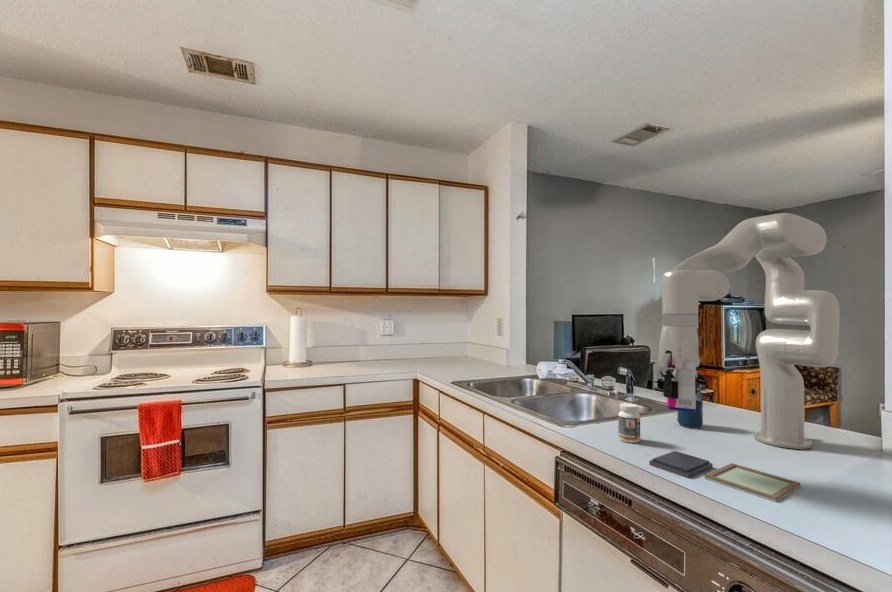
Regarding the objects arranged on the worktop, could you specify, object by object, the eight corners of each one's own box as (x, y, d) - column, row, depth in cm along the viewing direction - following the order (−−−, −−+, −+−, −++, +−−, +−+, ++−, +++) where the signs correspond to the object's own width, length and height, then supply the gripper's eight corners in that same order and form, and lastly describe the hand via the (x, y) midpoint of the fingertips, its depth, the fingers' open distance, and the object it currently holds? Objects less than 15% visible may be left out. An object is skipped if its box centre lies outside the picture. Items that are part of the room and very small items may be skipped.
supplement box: (693, 406, 101) (692, 358, 101) (695, 412, 95) (695, 362, 96) (665, 403, 103) (665, 357, 103) (667, 409, 98) (667, 360, 98)
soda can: (707, 429, 128) (707, 390, 129) (684, 429, 129) (684, 390, 129) (694, 423, 135) (694, 385, 136) (672, 422, 135) (672, 385, 136)
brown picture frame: (731, 466, 99) (731, 463, 99) (800, 486, 88) (800, 482, 88) (704, 478, 92) (704, 475, 92) (775, 501, 81) (775, 498, 81)
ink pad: (674, 455, 106) (674, 449, 106) (712, 467, 98) (712, 461, 98) (649, 464, 100) (649, 458, 100) (688, 478, 92) (688, 471, 92)
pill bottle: (642, 444, 114) (642, 407, 115) (620, 442, 116) (620, 406, 116) (637, 437, 120) (637, 403, 120) (616, 436, 121) (616, 402, 121)
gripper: (683, 320, 107) (683, 389, 107) (644, 321, 98) (644, 397, 98) (714, 321, 101) (715, 394, 101) (676, 323, 92) (676, 403, 91)
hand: (680, 395), depth 99 cm, fingers closed on supplement box, 7 cm apart
